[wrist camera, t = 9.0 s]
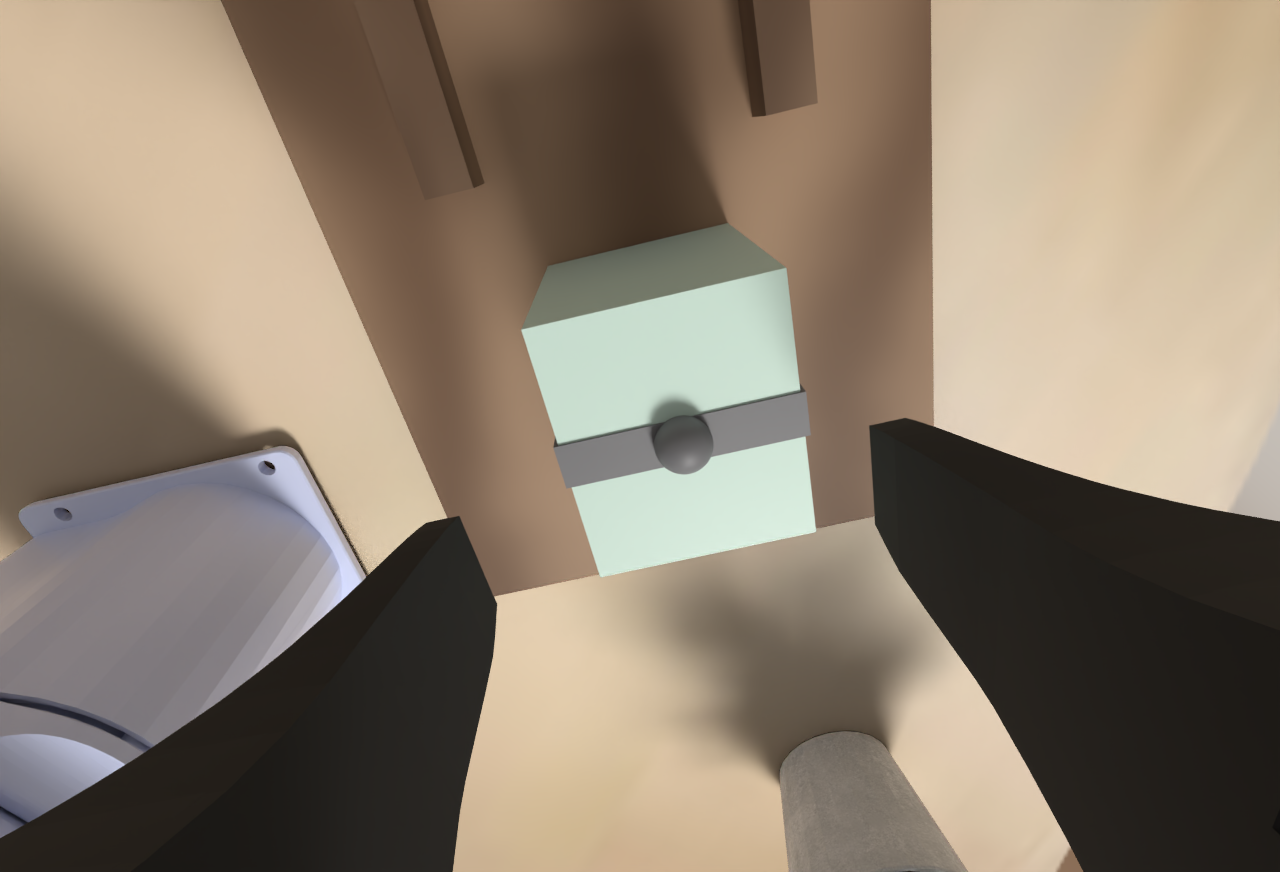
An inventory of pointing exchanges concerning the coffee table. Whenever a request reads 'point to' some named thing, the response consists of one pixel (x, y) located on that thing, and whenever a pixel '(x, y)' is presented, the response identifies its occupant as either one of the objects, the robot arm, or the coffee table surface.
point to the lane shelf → (607, 208)
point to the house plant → (856, 811)
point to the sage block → (674, 397)
